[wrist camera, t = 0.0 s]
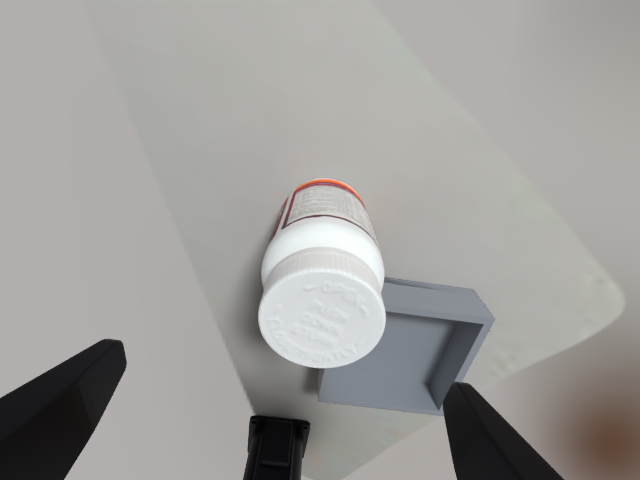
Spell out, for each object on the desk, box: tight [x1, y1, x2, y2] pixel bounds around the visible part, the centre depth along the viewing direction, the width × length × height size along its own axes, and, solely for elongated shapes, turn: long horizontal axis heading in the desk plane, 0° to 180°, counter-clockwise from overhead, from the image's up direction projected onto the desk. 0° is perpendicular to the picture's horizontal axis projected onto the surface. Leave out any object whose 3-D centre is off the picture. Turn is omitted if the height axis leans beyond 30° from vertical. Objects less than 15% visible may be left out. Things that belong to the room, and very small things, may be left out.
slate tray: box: [318, 277, 495, 416], centre depth 25 cm, size 11×11×4 cm
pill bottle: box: [258, 178, 386, 368], centre depth 17 cm, size 6×6×11 cm
